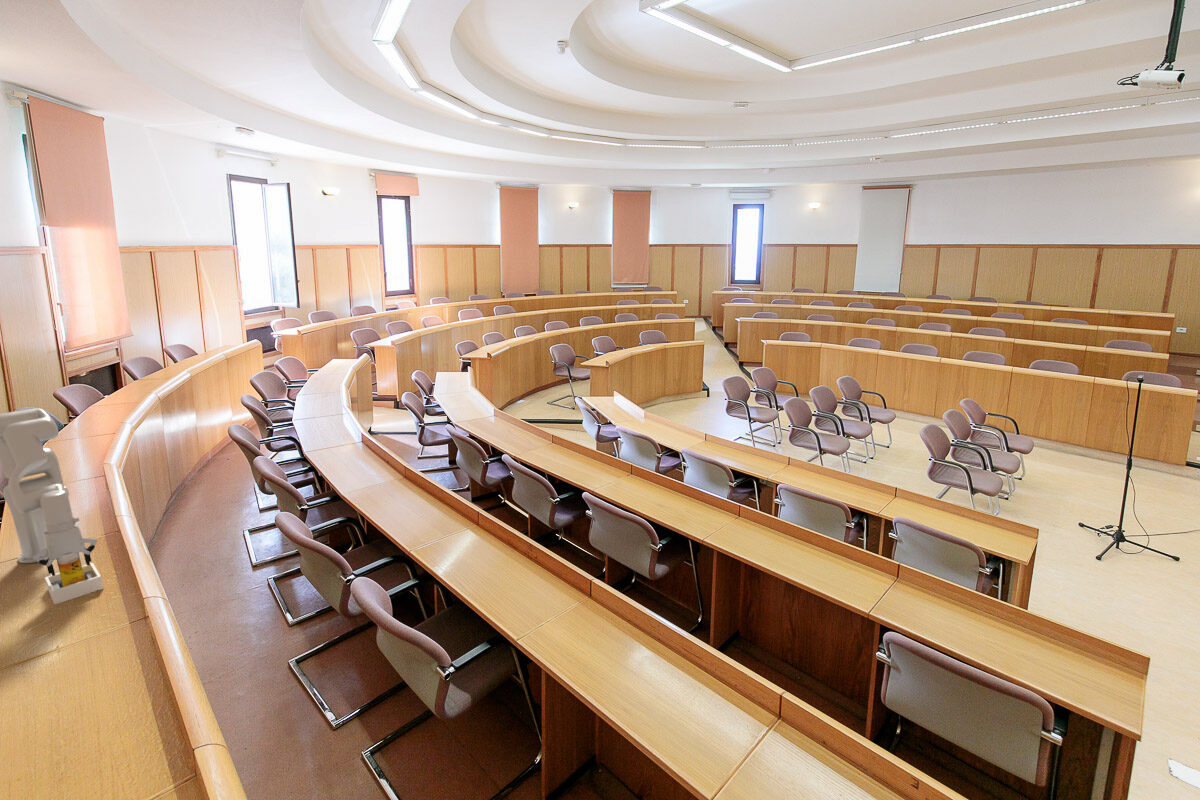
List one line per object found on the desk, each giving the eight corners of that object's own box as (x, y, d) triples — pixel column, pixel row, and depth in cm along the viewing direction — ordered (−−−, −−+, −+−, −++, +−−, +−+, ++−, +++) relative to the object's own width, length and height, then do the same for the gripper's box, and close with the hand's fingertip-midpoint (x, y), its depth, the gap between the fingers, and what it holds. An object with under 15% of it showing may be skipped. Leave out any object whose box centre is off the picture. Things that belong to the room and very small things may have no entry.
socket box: (47, 589, 222) (44, 577, 220) (95, 574, 231) (92, 562, 230) (54, 604, 213) (51, 591, 212) (103, 588, 223) (100, 576, 221)
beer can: (73, 594, 219) (64, 556, 215) (59, 592, 220) (50, 554, 216) (90, 585, 224) (82, 548, 221) (77, 583, 226) (68, 546, 222)
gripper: (89, 514, 224) (98, 556, 229) (25, 530, 212) (37, 574, 216) (93, 520, 219) (103, 563, 224) (28, 537, 207) (40, 582, 211)
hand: (70, 569), depth 220 cm, fingers open, 9 cm apart
